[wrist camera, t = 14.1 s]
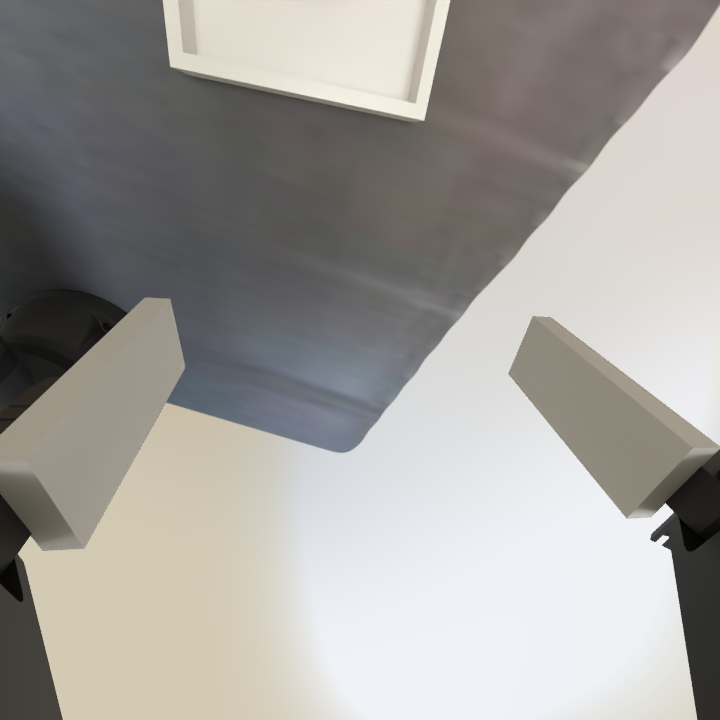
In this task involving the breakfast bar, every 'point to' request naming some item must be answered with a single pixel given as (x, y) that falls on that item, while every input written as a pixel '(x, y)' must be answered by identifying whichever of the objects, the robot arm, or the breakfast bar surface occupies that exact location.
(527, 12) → the breakfast bar surface
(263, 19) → the bin
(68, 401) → the robot arm
